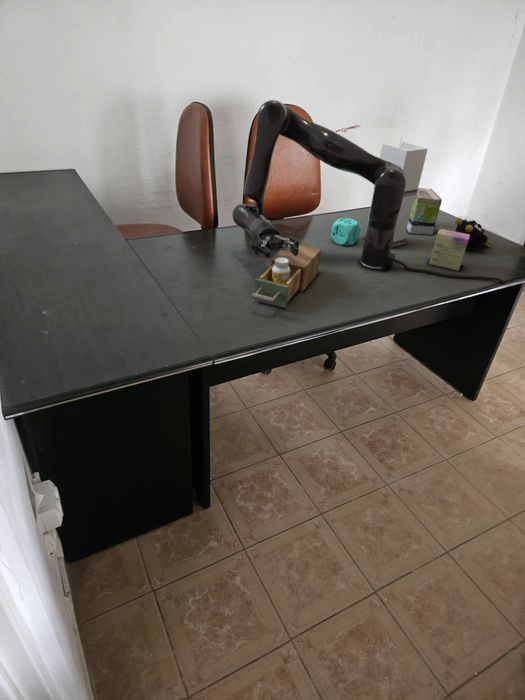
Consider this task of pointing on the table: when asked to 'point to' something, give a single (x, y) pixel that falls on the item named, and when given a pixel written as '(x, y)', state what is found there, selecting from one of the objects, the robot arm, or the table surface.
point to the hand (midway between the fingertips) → (283, 254)
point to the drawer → (277, 287)
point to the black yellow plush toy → (472, 233)
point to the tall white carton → (412, 166)
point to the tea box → (424, 212)
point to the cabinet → (302, 262)
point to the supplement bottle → (281, 271)
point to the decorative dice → (345, 231)
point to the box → (449, 249)
